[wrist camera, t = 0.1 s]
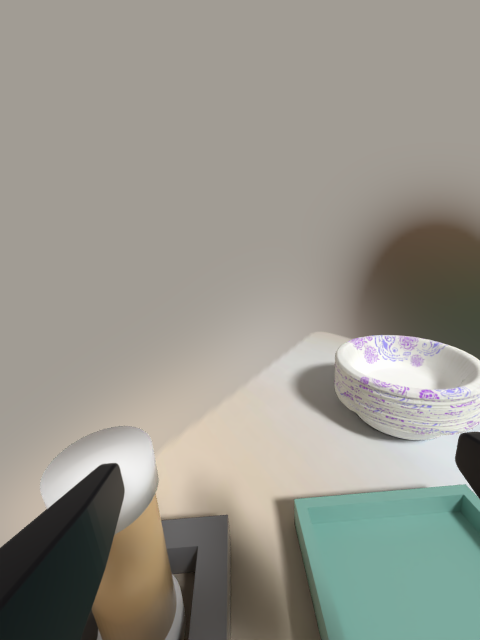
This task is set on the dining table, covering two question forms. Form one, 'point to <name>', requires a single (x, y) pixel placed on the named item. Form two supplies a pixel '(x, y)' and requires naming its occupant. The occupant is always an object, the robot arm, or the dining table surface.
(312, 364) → the dining table surface
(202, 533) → the frame
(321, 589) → the parts tray
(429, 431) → the paper bowls
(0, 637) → the robot arm
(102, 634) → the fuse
